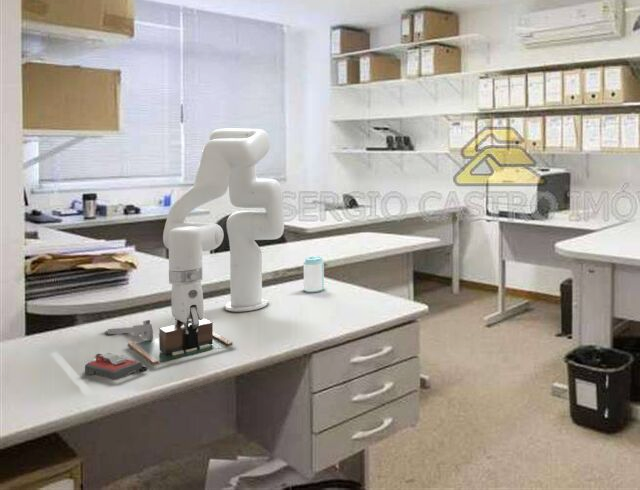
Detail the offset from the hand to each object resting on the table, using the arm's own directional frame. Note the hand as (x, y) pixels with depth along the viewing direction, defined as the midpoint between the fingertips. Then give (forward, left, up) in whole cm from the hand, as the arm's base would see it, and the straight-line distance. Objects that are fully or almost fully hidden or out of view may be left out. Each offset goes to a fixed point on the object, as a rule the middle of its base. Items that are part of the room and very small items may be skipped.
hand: (186, 345), depth 147 cm
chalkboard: (-3, 0, -2) cm, 4 cm away
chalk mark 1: (+3, -3, -1) cm, 4 cm away
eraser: (0, 0, 0) cm, 0 cm away
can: (-33, +55, -2) cm, 64 cm away
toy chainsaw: (+1, -17, -2) cm, 17 cm away
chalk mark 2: (+3, 0, -1) cm, 3 cm away
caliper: (-23, -7, -2) cm, 24 cm away
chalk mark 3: (+3, +3, -1) cm, 4 cm away
